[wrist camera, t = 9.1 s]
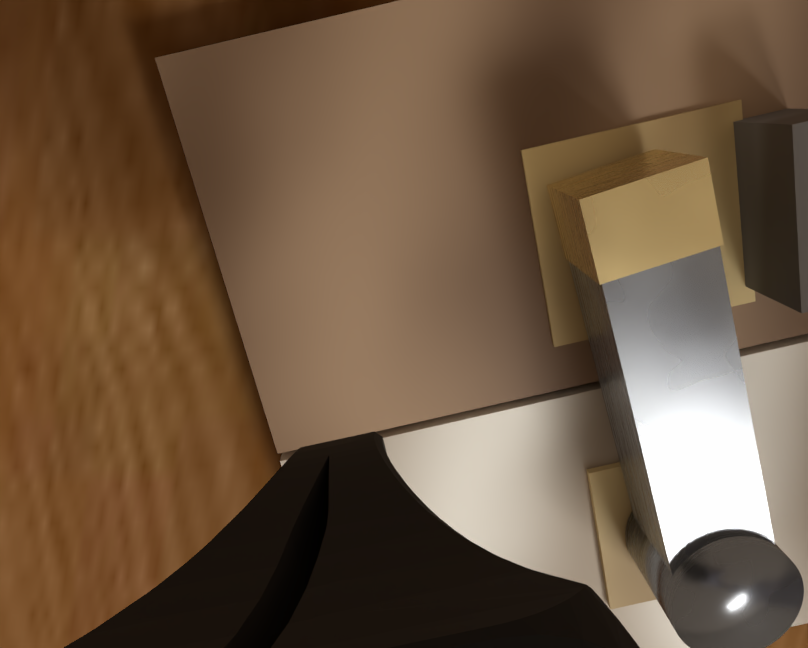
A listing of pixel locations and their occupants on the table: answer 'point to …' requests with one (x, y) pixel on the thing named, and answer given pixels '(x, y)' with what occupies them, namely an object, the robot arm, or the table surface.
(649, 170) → the latch bar
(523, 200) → the door board
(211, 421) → the table surface
